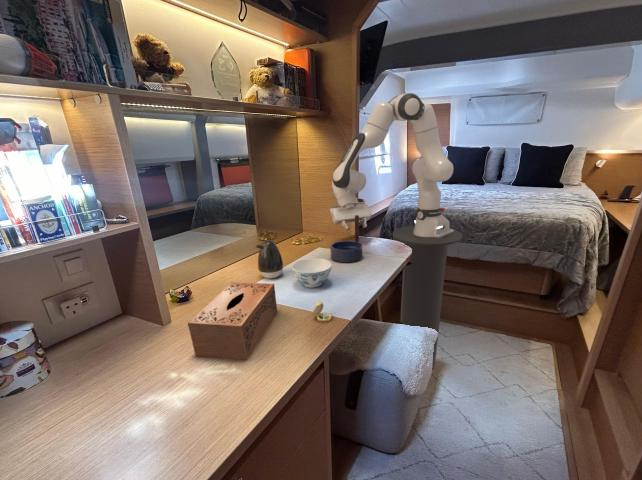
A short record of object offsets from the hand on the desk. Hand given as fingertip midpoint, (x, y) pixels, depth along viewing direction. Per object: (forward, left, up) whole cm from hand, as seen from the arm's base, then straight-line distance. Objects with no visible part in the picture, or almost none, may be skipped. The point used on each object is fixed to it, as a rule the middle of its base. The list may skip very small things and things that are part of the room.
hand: (356, 228), depth 166 cm
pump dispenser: (+50, +10, -10) cm, 52 cm away
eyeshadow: (+50, +52, -10) cm, 73 cm away
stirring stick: (0, 0, -10) cm, 10 cm away
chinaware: (+40, +27, -10) cm, 49 cm away
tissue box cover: (+74, +45, -10) cm, 87 cm away
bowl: (+13, +10, -10) cm, 19 cm away
